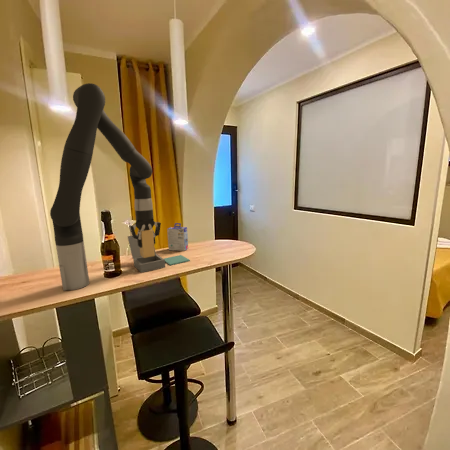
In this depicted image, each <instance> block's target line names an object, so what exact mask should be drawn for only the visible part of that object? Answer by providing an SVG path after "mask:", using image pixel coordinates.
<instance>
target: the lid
mask: <svg viewBox="0 0 450 450" xmlns="http://www.w3.org/2000/svg"><path fill="white" fill-rule="evenodd" d="M137 235H138V234H136V236H137ZM127 241H128V244H129V248H130V252H131V253H130V254H131V257H132V259H134V258H139V257H142V256H141V255H140V247H139V246H138V242H137V239H134V238H133V237H132V235H128V236H127ZM154 250H155V254H157V252H156V248H155V246H154Z"/></svg>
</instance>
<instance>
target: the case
mask: <svg viewBox="0 0 450 450" xmlns="http://www.w3.org/2000/svg"><path fill="white" fill-rule="evenodd" d="M132 259H133V258H132ZM133 266H134V267H135V268H136V269H137V270H138V271H139V273H145V272H149V271H150V272H151V271H155V270H158V269H162V268H166V262H165V259H164V257H162V256H160V255H158V254H157V253H156V254H155V256H152V257H146V258H143V257H139V258H134V259H133Z"/></svg>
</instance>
